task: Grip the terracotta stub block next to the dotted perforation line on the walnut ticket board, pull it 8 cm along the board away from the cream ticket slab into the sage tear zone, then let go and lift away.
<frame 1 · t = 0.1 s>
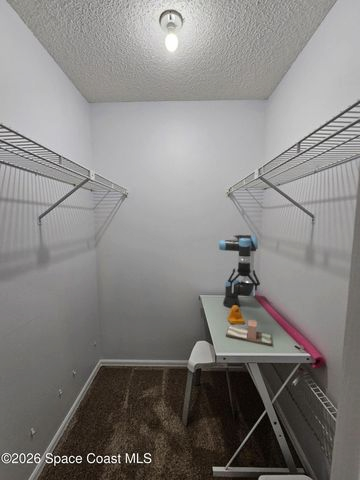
hand: (243, 293, 135), 28 cm above the table, fingers open, 13 cm apart
stub: (252, 328, 133), point 6 cm above the table, slide at 0.0 cm
ticket board: (248, 336, 134), on the table
bracket: (236, 322, 155), on the table
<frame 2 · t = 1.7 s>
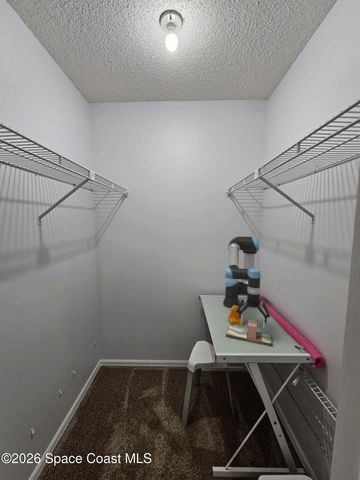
hand: (252, 325, 133), 9 cm above the table, fingers open, 13 cm apart
nothing on the table moved.
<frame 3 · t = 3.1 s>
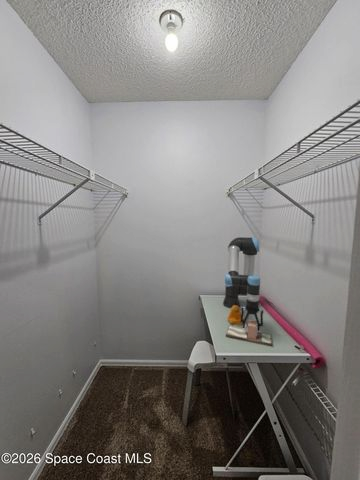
hand: (250, 334, 134), 2 cm above the table, fingers open, 6 cm apart
stub: (252, 328, 133), point 6 cm above the table, slide at 0.0 cm, touching gripper
everything else where it was.
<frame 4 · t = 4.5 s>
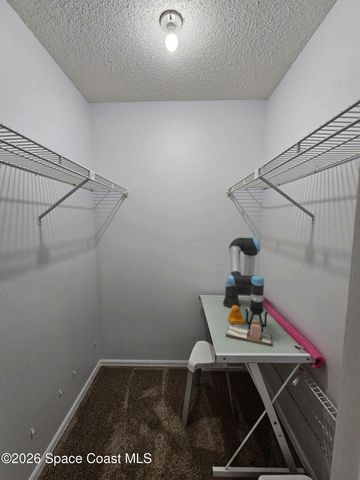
hand: (255, 335, 132), 2 cm above the table, fingers closed on stub, 5 cm apart
stub: (255, 329, 132), point 6 cm above the table, slide at 2.2 cm, touching gripper
everything else where it was.
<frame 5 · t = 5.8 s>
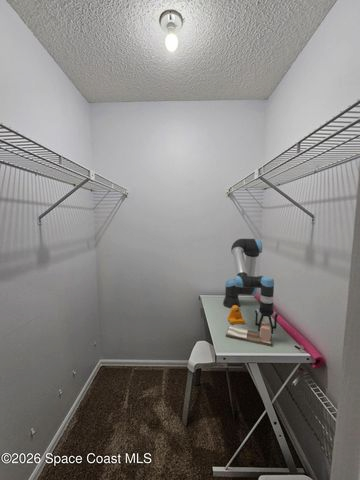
hand: (265, 337, 130), 2 cm above the table, fingers closed on stub, 5 cm apart
stub: (265, 331, 130), point 6 cm above the table, slide at 7.9 cm, touching gripper
everything else where it was.
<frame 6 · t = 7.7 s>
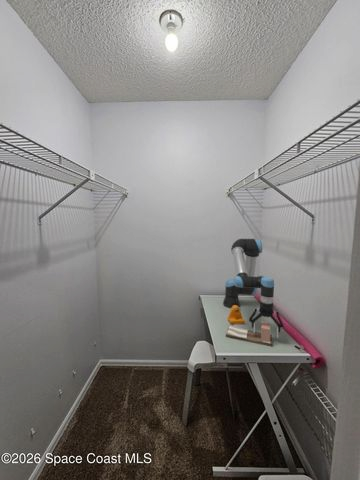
hand: (265, 334, 130), 4 cm above the table, fingers open, 13 cm apart
stub: (265, 331, 130), point 6 cm above the table, slide at 8.0 cm
everything else where it was.
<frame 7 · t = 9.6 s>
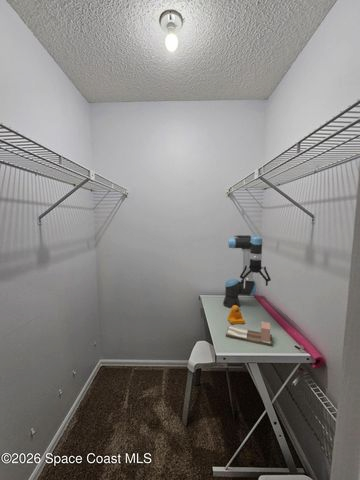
hand: (254, 289, 144), 29 cm above the table, fingers open, 13 cm apart
nothing on the table moved.
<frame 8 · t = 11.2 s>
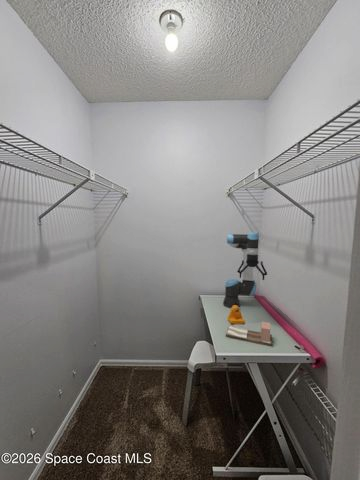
hand: (251, 283, 147), 32 cm above the table, fingers open, 13 cm apart
nothing on the table moved.
at the end: stub slide at 8.0 cm; the gripper is holding nothing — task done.
